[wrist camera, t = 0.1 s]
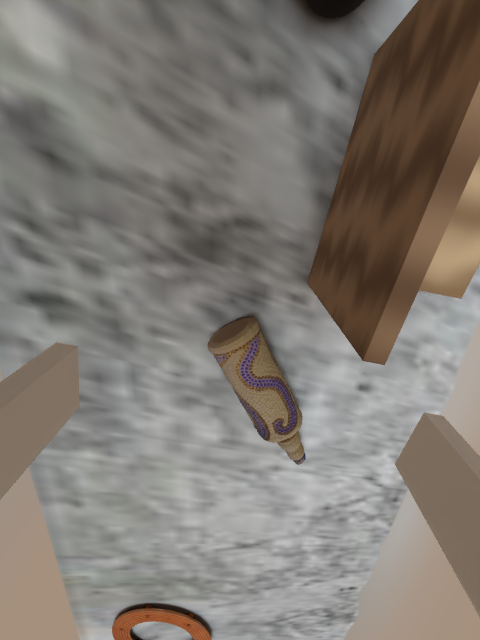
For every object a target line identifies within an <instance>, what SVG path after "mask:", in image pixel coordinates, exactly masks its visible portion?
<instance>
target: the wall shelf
mask: <svg viewBox="0 0 480 640" xmlns="http://www.w3.org/2000/svg"><path fill="white" fill-rule="evenodd" d="M479 264H480V0H419V1H418V2H417V3H416V4H415V6H414V7H413V8H412V9H411V11H410V12H409V13H408V14H407V15H406V17H405V18H404V19H403V20H402V22H401V23H400V24H399V25H398V26H397V28H396V29H395V30H394V31H393V32H392V34H391V35H390V36H389V37H388V39H387V40H386V41H385V42H384V43H383V45H382V46H381V47H380V48H379V50H378V51H377V52H376V53H375V55H374V58H373V62H372V65H371V68H370V72H369V75H368V79H367V82H366V86H365V89H364V92H363V96H362V99H361V103H360V106H359V109H358V113H357V116H356V120H355V123H354V126H353V130H352V133H351V137H350V140H349V144H348V147H347V150H346V154H345V157H344V161H343V164H342V167H341V171H340V174H339V178H338V181H337V184H336V188H335V191H334V195H333V198H332V201H331V205H330V208H329V212H328V215H327V219H326V222H325V225H324V229H323V232H322V236H321V239H320V242H319V246H318V249H317V253H316V256H315V259H314V263H313V266H312V270H311V273H310V277H309V280H308V285H309V286H310V288H311V289H312V290H313V292H314V293H315V295H316V296H317V297H318V299H319V300H320V302H321V303H322V304H323V306H324V307H325V309H326V310H327V311H328V313H329V314H330V315H331V317H332V318H333V320H334V321H335V322H336V324H337V325H338V327H339V328H340V329H341V331H342V332H343V334H344V335H345V336H346V338H347V339H348V341H349V342H350V343H351V345H352V346H353V348H354V349H355V350H356V352H357V353H358V355H359V356H360V357H361V359H362V360H363V361H366V362H372V363H377V364H382V365H385V363H386V361H387V359H388V357H389V354H390V352H391V350H392V348H393V346H394V343H395V341H396V339H397V337H398V334H399V332H400V330H401V328H402V326H403V323H404V321H405V319H406V317H407V315H408V312H409V310H410V308H411V306H412V304H413V301H414V299H415V297H416V295H417V293H418V290H421V291H426V292H431V293H436V294H441V295H446V296H450V297H455V298H460V299H461V298H462V296H463V294H464V293H465V291H466V289H467V287H468V285H469V283H470V281H471V279H472V277H473V275H474V273H475V271H476V269H477V268H478V266H479Z"/></svg>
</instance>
